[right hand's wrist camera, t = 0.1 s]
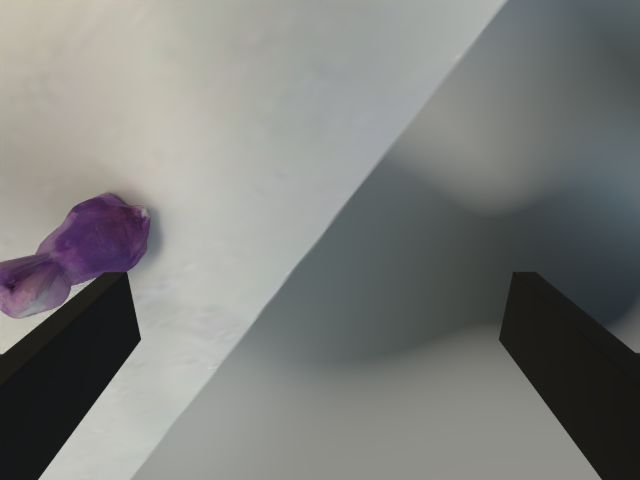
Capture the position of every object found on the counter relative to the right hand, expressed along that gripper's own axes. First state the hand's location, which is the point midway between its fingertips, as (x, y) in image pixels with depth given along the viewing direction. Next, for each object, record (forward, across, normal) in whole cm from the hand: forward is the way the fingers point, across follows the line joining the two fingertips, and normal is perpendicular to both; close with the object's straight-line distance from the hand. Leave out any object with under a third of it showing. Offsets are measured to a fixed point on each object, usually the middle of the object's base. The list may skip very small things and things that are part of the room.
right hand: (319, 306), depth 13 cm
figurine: (+28, -23, -8) cm, 37 cm away
